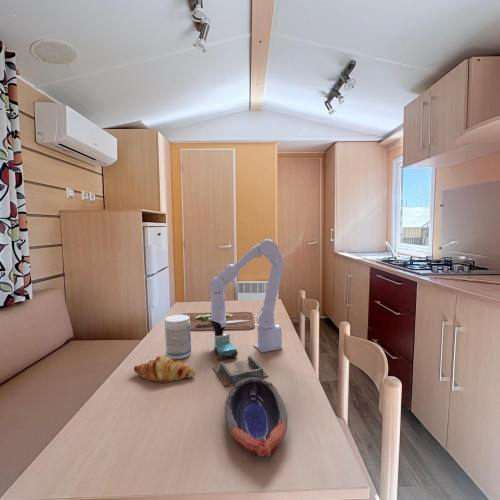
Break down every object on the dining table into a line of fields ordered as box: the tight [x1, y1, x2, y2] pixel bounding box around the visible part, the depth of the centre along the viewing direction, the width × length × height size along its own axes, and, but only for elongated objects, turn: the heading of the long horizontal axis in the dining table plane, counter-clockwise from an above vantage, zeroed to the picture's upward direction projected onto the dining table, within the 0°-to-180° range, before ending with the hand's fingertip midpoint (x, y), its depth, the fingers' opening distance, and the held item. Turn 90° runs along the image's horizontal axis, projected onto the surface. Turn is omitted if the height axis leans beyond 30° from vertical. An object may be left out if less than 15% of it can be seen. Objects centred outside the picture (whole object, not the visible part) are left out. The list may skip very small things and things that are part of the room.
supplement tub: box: [164, 314, 192, 360], centre depth 118 cm, size 10×10×15 cm
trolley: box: [213, 333, 238, 361], centre depth 117 cm, size 7×9×6 cm
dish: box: [224, 377, 288, 457], centre depth 78 cm, size 16×31×5 cm, turn 2°
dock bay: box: [212, 355, 269, 387], centre depth 104 cm, size 15×14×3 cm
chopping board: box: [180, 311, 259, 332], centre depth 158 cm, size 45×27×3 cm, turn 91°
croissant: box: [133, 355, 196, 383], centre depth 102 cm, size 21×10×8 cm, turn 85°
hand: (218, 338), depth 125 cm, fingers closed
